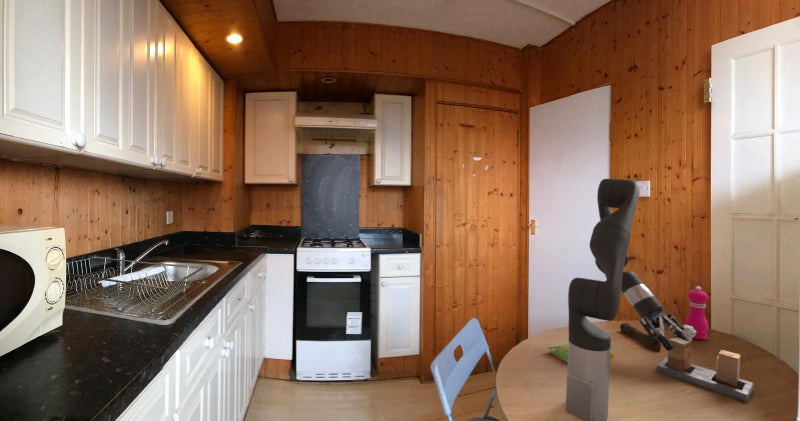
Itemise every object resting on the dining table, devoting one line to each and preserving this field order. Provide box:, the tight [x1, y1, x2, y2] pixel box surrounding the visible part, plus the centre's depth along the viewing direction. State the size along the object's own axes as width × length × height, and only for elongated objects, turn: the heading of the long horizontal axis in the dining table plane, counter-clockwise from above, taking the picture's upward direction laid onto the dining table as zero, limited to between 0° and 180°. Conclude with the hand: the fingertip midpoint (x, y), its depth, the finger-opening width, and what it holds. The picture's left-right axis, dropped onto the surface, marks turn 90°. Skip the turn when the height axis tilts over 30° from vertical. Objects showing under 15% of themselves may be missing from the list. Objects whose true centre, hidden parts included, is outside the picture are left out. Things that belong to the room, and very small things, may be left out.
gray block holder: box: [656, 349, 754, 403], centre depth 103 cm, size 20×10×10 cm, turn 38°
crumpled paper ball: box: [674, 324, 696, 343], centre depth 130 cm, size 6×7×7 cm
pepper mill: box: [684, 285, 710, 340], centre depth 136 cm, size 7×7×20 cm
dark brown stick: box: [619, 322, 662, 352], centre depth 131 cm, size 19×4×5 cm, turn 178°
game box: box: [546, 344, 615, 364], centre depth 118 cm, size 3×10×20 cm
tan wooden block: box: [667, 336, 692, 374], centre depth 107 cm, size 4×4×10 cm
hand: (679, 347), depth 107 cm, fingers open, 8 cm apart
